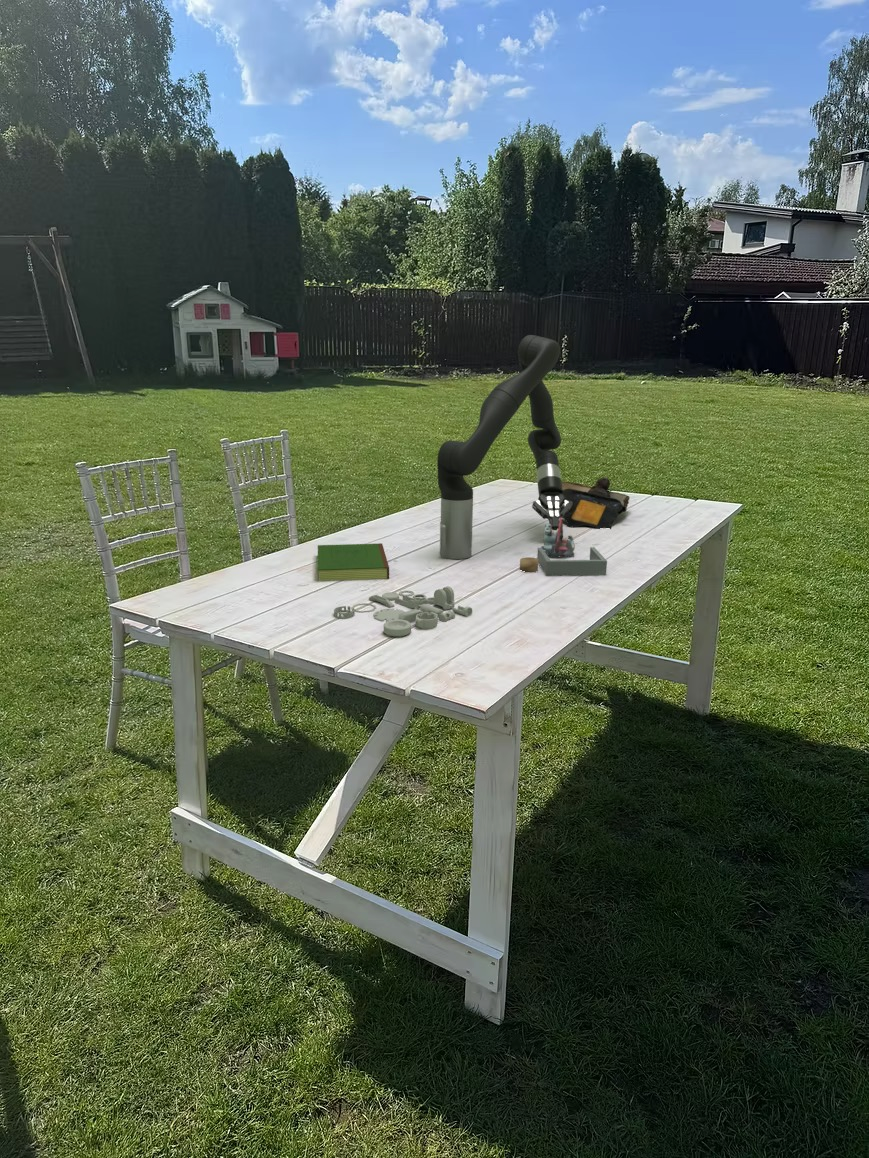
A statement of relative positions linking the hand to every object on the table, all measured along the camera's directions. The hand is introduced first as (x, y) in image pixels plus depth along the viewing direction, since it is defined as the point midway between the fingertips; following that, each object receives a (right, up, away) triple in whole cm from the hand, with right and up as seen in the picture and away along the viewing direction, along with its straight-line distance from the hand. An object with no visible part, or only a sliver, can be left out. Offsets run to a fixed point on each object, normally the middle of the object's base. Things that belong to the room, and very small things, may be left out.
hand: (555, 529), depth 238 cm
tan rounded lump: (-11, -13, -22) cm, 28 cm away
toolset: (+16, +7, +42) cm, 46 cm away
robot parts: (-45, -24, -55) cm, 75 cm away
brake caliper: (0, -8, -6) cm, 10 cm away
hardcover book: (-60, -12, -20) cm, 64 cm away
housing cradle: (+1, -12, -20) cm, 23 cm away
